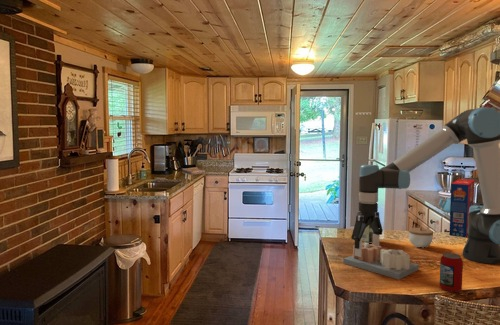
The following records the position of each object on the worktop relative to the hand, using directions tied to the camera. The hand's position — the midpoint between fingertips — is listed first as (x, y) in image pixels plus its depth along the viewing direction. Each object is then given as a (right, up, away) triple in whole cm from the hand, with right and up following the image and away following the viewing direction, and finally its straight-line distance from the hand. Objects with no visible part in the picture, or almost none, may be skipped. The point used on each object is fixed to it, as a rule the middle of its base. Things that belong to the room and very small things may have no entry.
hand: (367, 252), depth 157 cm
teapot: (+95, +2, +110) cm, 145 cm away
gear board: (+4, -5, -4) cm, 7 cm away
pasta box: (+70, -1, +54) cm, 88 cm away
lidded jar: (+33, -3, +24) cm, 41 cm away
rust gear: (0, -2, 0) cm, 2 cm away
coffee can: (+10, -2, +34) cm, 35 cm away
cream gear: (+8, -3, -9) cm, 12 cm away
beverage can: (+20, -6, -27) cm, 34 cm away
